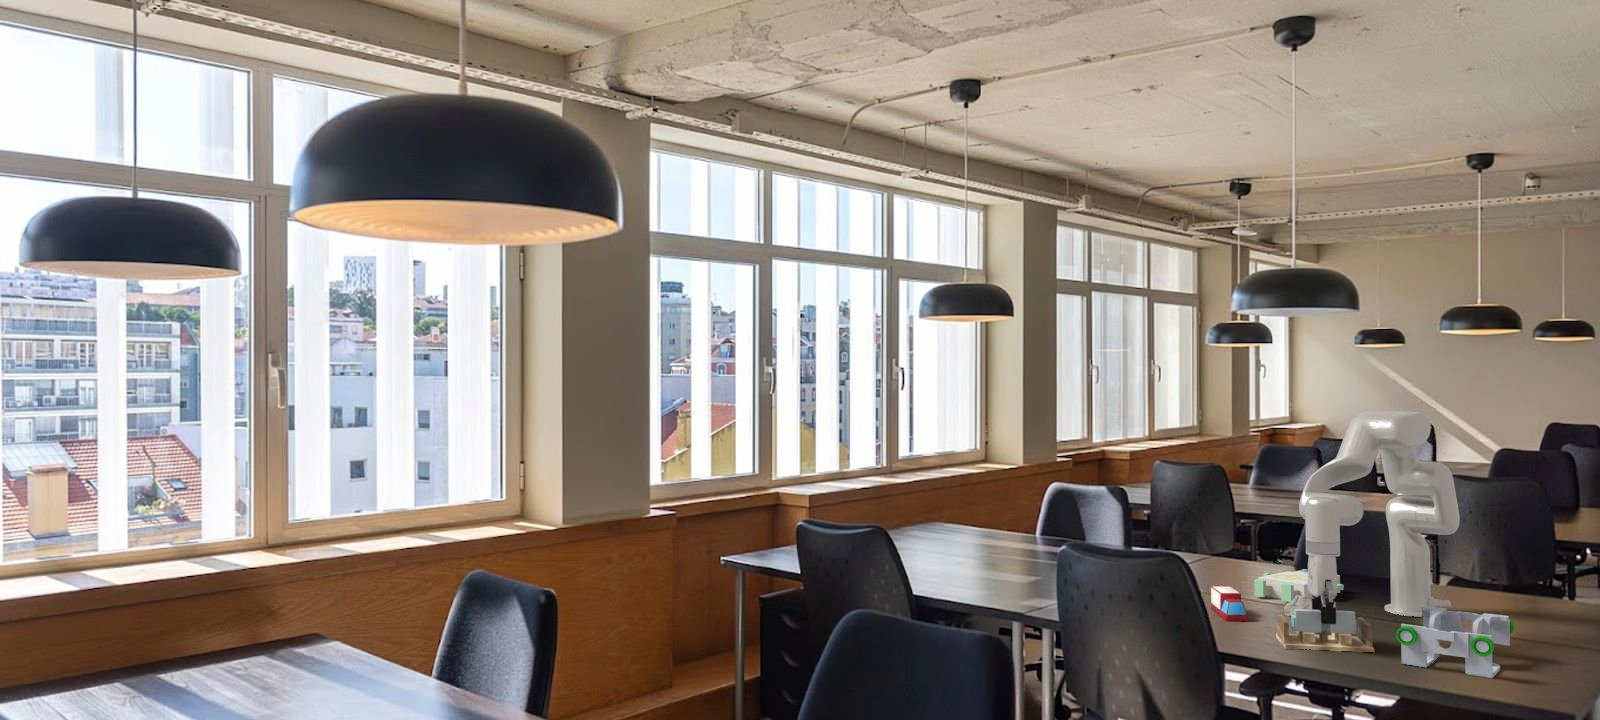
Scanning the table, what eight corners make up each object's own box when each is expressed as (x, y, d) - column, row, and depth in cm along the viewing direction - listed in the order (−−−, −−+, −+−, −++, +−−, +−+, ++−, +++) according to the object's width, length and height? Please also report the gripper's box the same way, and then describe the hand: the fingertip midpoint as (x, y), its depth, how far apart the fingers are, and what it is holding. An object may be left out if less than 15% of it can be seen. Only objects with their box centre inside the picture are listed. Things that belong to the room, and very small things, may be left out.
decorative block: (1290, 565, 339) (1354, 575, 323) (1290, 586, 339) (1354, 596, 323) (1241, 575, 325) (1305, 585, 308) (1241, 596, 325) (1305, 608, 308)
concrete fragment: (1324, 626, 286) (1323, 603, 286) (1281, 615, 299) (1280, 593, 299) (1343, 624, 289) (1343, 600, 289) (1300, 613, 301) (1299, 591, 301)
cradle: (1360, 640, 270) (1360, 616, 270) (1374, 653, 258) (1373, 627, 258) (1276, 637, 275) (1275, 613, 275) (1285, 648, 263) (1285, 623, 263)
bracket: (1514, 657, 253) (1514, 614, 253) (1493, 681, 235) (1492, 634, 235) (1423, 645, 266) (1423, 603, 266) (1396, 666, 247) (1395, 621, 247)
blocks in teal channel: (1353, 630, 266) (1353, 609, 266) (1357, 633, 263) (1357, 613, 263) (1291, 627, 269) (1290, 607, 270) (1294, 631, 266) (1294, 610, 266)
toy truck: (1226, 622, 292) (1226, 597, 292) (1211, 610, 307) (1210, 586, 307) (1247, 622, 291) (1247, 597, 291) (1231, 610, 306) (1231, 586, 306)
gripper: (1298, 542, 275) (1299, 610, 275) (1314, 553, 259) (1315, 626, 258) (1331, 543, 274) (1332, 612, 274) (1348, 554, 257) (1349, 628, 257)
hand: (1323, 619), depth 266 cm, fingers open, 9 cm apart
